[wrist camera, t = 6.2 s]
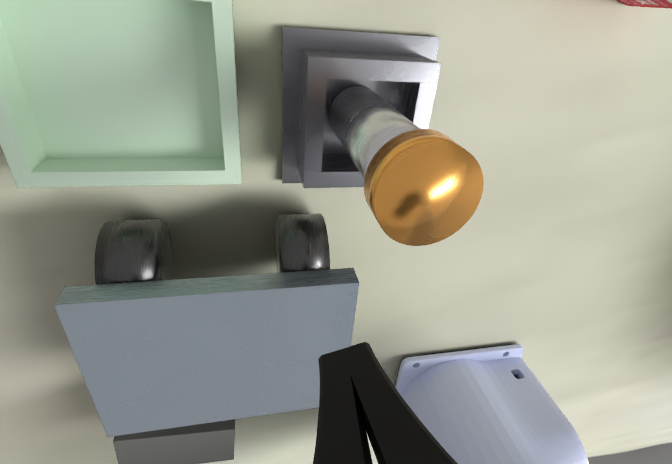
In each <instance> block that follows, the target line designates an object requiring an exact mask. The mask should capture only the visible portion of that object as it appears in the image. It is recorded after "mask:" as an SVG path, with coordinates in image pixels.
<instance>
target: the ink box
mask: <svg viewBox="0 0 672 464" xmlns="http://www.w3.org/2000/svg"><path fill="white" fill-rule="evenodd" d="M618 1H619V2H621V3H624V4H625V5H628V6H640V7H656V8H672V0H618Z"/></svg>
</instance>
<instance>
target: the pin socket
mask: <svg viewBox="0 0 672 464" xmlns="http://www.w3.org/2000/svg"><path fill="white" fill-rule="evenodd" d="M439 40H440V37H434V36H419V35H404V34H389V33H374V32H359V31H344V30H329V29H313V28H298V27H283V26H282V183H302V184H303V187H304V188H329V187H364V178H363V177H362V175H361V173H360V172H359V170H358V169H357V167H356V165H355V164H354V162H353V161H352V159H351V157H350V156H349V154H348V153H347V151H346V149H345V148H344V146H343V145H342V143H341V142H340V140H339V138H338V137H337V135H336V134H335V132H334V130H333V129H332V126H331V124H330V118H329V114H330V108H331V105H332V103H333V101H334V99H335V98H336V97H337V96H338V95H339V94H340V93H341V92H342V91H344V90H345V89H347V88H350V87H353V86H364V87H367V88H370V89H371V90H373V91H374V92H375V93H377V94H378V95H379V96H380V97H381V98H383V99H384V100H385V101H386V102H388V103H389V104H390V105H391V106H393V107H394V108H395V109H396V110H397V111H399V112H400V113H401V114H402V115H404V116H405V117H406V118H407V119H408V120H410V121H411V122H412V123H413V124H415V125H416V126H417V127H418V128H420V129H428V127H429V122H430V117H431V112H432V107H433V102H434V97H435V92H436V87H437V82H438V78H439V73H440V68H441V63H439V62H436V56H437V51H438V45H439Z"/></svg>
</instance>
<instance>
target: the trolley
mask: <svg viewBox="0 0 672 464" xmlns="http://www.w3.org/2000/svg"><path fill="white" fill-rule="evenodd" d="M276 258H277V273H268V274H253V275H238V276H222V277H207V278H192V279H177V280H173V257H172V247H171V240H170V235H169V231H168V228H167V225H166V223H165V221H164V220H163V219H144V220H115V221H108V222H106V223H105V224H104V225H103V227H102V229H101V231H100V233H99V236H98V240H97V245H96V251H95V281H96V285H85V286H70V287H64V289H63V291H62V292H61V294H60V296H59V297H58V299H57V301H56V303H55V304H54V307H55V309H56V312H57V314H58V317H59V319H60V322H61V324H62V327H63V329H64V331H65V334H66V336H67V339H68V341H69V344H70V346H71V349H72V351H73V353H74V356H75V358H76V361H77V363H78V366H79V368H80V371H81V373H82V376H83V378H84V380H85V383H86V385H87V388H88V390H89V393H90V395H91V398H92V400H93V402H94V405H95V407H96V410H97V412H98V415H99V417H100V420H101V422H102V425H103V427H104V429H105V432H106V434H107V437H112V436H119V435H126V434H133V433H140V432H147V431H154V430H161V429H168V428H176V427H183V426H190V425H197V424H204V423H211V422H218V421H225V420H232V419H240V418H247V417H254V416H261V415H268V414H275V413H282V412H289V411H296V410H303V409H311V408H318V407H319V397H320V373H319V361H318V359H319V358H320V356H321V355H324V354H327V353H330V352H334V351H337V350H340V349H344V348H347V347H350V346H351V339H352V332H353V324H354V317H355V310H356V302H357V295H358V287H359V281H358V279H357V276H356V274H355V271H354V268H344V269H330V257H329V244H328V236H327V230H326V225H325V221H324V218H323V216H322V214H320V213H318V214H289V215H277V217H276Z"/></svg>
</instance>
